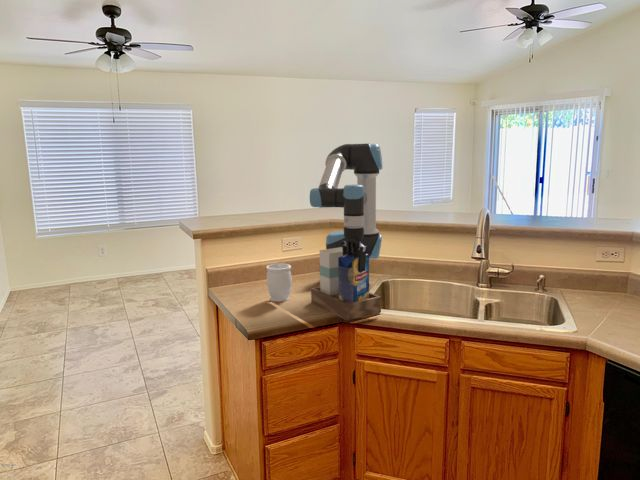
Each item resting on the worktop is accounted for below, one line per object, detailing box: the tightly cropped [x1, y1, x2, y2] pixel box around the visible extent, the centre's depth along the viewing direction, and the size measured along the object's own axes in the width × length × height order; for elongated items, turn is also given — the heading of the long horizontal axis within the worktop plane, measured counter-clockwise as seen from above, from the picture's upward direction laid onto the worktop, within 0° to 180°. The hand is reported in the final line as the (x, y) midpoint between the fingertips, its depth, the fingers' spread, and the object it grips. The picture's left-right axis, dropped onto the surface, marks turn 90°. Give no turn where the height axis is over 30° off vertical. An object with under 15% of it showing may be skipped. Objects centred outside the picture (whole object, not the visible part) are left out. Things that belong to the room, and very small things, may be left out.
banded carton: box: [319, 247, 343, 295], centre depth 187 cm, size 11×7×22 cm, turn 122°
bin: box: [310, 286, 382, 324], centre depth 183 cm, size 16×25×7 cm, turn 32°
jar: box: [266, 262, 293, 304], centre depth 195 cm, size 11×10×15 cm
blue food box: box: [338, 254, 370, 304], centre depth 176 cm, size 7×11×22 cm, turn 144°
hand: (353, 287), depth 177 cm, fingers open, 3 cm apart
